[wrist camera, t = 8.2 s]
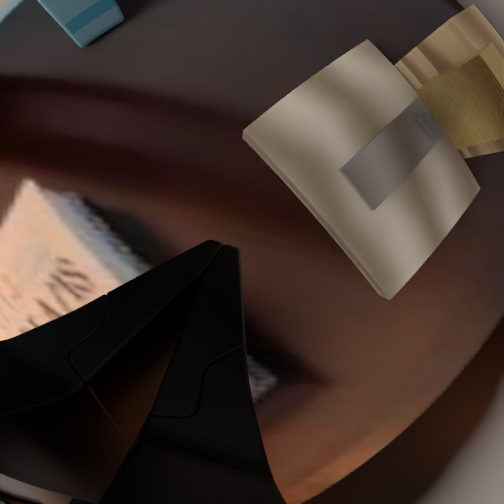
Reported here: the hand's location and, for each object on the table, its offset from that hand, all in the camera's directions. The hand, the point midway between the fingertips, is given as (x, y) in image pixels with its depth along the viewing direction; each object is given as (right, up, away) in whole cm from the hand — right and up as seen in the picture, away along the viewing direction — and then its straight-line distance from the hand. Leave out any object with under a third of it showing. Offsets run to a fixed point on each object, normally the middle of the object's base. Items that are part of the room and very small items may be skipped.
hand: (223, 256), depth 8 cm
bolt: (+16, +12, +10) cm, 22 cm away
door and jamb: (+12, +9, +13) cm, 20 cm away
